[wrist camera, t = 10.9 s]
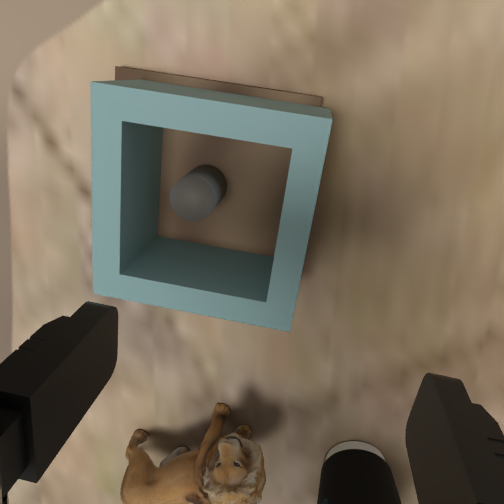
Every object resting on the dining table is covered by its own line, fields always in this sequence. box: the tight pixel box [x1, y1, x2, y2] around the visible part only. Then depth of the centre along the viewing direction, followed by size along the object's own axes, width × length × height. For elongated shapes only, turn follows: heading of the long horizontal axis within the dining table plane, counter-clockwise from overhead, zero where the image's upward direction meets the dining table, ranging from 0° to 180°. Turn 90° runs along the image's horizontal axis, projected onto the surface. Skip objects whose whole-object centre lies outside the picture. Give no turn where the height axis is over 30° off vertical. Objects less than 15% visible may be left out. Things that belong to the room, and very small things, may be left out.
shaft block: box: [115, 66, 322, 257], centre depth 26 cm, size 12×12×4 cm
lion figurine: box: [120, 403, 266, 504], centre depth 32 cm, size 15×5×9 cm, turn 125°
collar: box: [91, 79, 333, 332], centre depth 24 cm, size 11×11×6 cm
